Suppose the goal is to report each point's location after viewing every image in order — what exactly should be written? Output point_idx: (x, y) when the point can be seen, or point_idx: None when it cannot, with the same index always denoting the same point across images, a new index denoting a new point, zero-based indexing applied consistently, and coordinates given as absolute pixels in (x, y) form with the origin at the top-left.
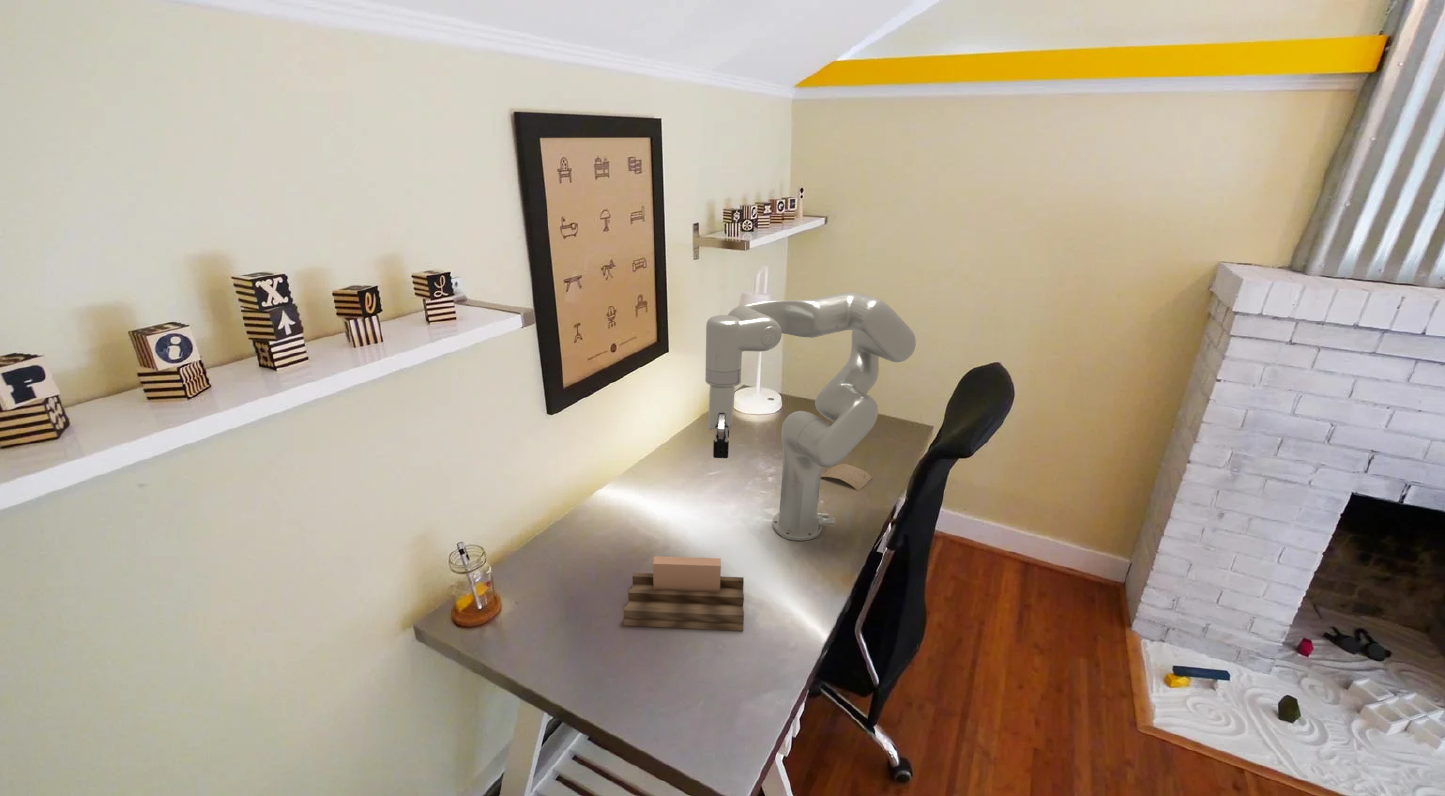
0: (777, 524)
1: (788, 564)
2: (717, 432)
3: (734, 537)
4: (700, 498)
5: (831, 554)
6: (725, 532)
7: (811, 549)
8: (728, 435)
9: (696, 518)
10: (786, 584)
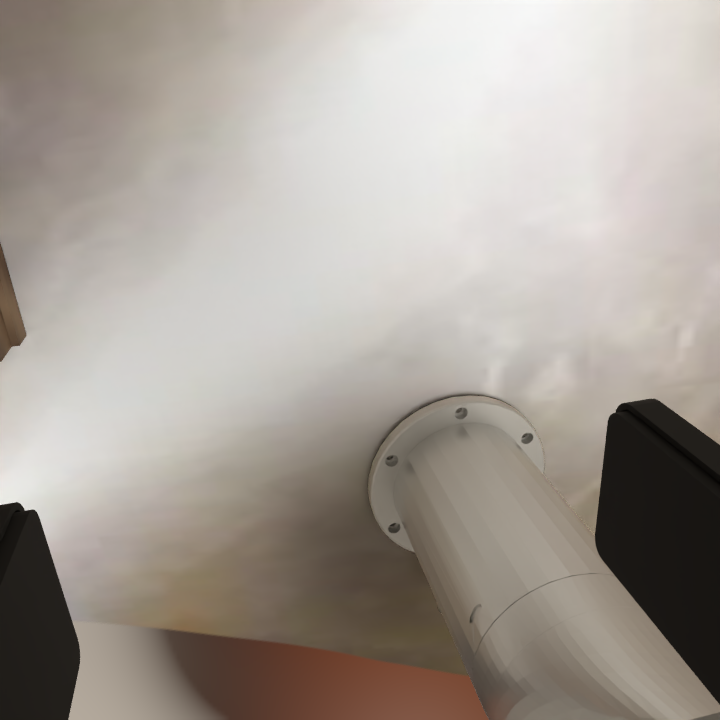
0: (446, 421)
1: (225, 470)
2: (656, 475)
3: (364, 260)
4: (656, 63)
5: (309, 584)
6: (396, 218)
7: (327, 528)
8: (623, 569)
9: (493, 65)
10: (106, 475)
